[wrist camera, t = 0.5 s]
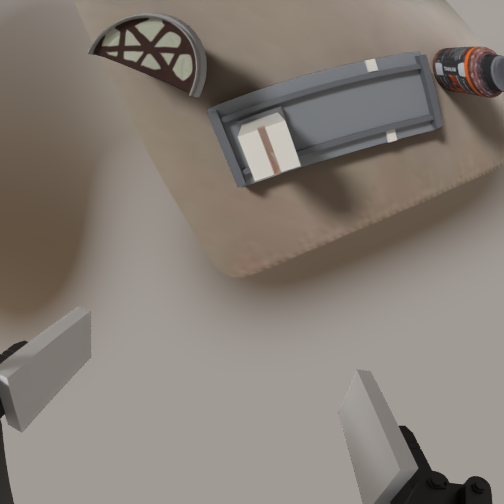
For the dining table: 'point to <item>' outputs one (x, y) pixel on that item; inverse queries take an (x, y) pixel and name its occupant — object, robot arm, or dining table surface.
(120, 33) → the food container
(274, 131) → the fader tab
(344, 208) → the dining table surface
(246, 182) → the board
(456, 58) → the supplement bottle
